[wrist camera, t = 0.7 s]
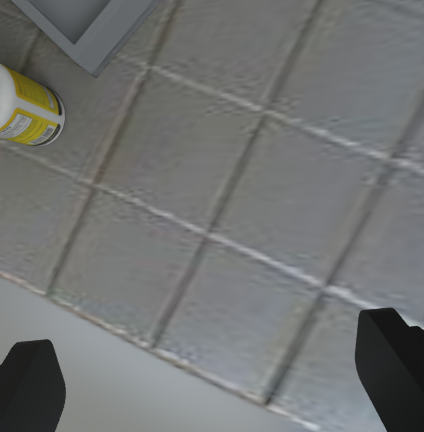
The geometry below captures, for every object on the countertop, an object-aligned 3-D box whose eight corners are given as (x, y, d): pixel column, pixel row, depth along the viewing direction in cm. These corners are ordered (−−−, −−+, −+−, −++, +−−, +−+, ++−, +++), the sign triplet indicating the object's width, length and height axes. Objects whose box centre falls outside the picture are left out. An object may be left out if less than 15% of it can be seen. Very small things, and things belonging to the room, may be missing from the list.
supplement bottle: (20, 83, 30) (-77, 34, 22) (72, 94, 29) (-7, 48, 21) (8, 141, 30) (-92, 115, 22) (60, 153, 30) (-23, 131, 21)
